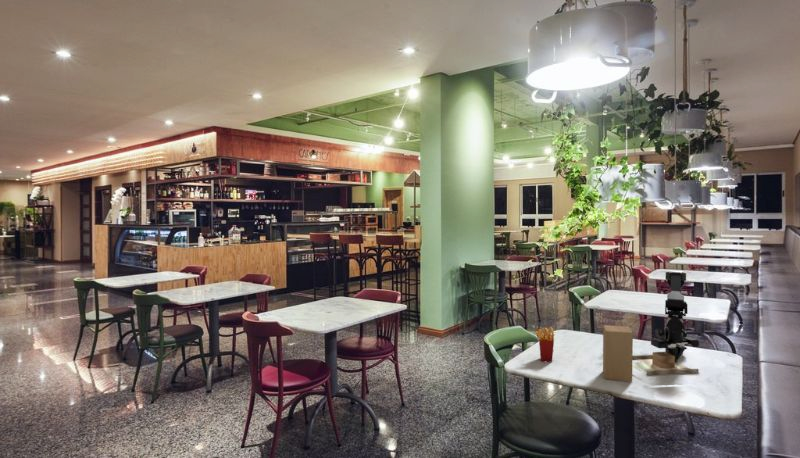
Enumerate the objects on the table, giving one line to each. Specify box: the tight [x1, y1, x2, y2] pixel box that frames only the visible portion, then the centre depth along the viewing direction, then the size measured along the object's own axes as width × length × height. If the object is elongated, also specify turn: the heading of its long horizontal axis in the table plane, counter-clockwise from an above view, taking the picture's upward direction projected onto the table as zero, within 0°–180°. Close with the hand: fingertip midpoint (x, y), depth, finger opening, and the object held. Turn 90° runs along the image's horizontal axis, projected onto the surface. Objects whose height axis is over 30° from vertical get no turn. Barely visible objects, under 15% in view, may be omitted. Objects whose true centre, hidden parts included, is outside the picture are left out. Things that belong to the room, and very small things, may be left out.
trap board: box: [632, 354, 700, 376], centre depth 198 cm, size 22×20×2 cm
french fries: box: [535, 326, 555, 363], centre depth 211 cm, size 9×8×15 cm
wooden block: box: [602, 324, 634, 383], centre depth 188 cm, size 10×10×20 cm
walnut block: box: [652, 351, 675, 368], centre depth 198 cm, size 6×6×5 cm
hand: (674, 362), depth 199 cm, fingers closed
